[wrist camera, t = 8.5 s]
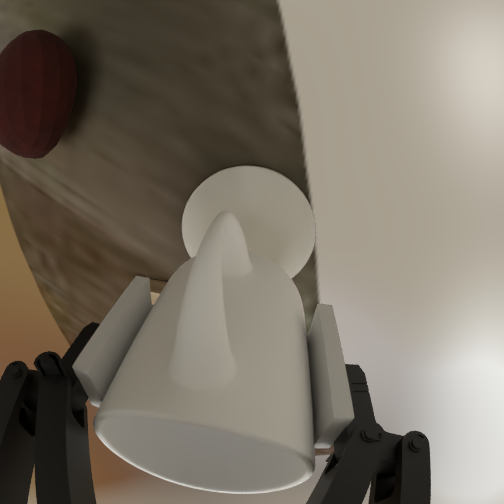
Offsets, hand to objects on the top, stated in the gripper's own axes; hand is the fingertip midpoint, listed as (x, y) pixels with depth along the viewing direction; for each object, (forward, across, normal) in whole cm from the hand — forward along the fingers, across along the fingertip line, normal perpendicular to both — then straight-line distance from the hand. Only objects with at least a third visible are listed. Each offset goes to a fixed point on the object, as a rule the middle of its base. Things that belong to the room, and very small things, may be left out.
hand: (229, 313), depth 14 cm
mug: (+3, 0, 0) cm, 3 cm away
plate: (+11, 0, 0) cm, 11 cm away
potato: (+11, -19, +12) cm, 25 cm away
